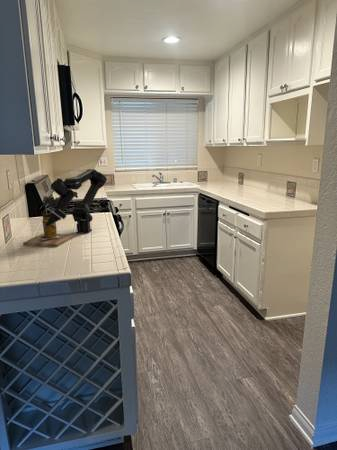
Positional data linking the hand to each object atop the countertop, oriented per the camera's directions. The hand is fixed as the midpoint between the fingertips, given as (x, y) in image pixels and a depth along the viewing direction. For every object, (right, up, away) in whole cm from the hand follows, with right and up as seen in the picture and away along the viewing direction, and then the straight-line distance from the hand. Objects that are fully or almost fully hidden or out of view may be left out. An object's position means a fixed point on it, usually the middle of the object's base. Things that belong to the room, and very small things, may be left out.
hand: (44, 224), depth 154 cm
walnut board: (+1, -8, +3) cm, 9 cm away
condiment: (+1, -7, +3) cm, 7 cm away
